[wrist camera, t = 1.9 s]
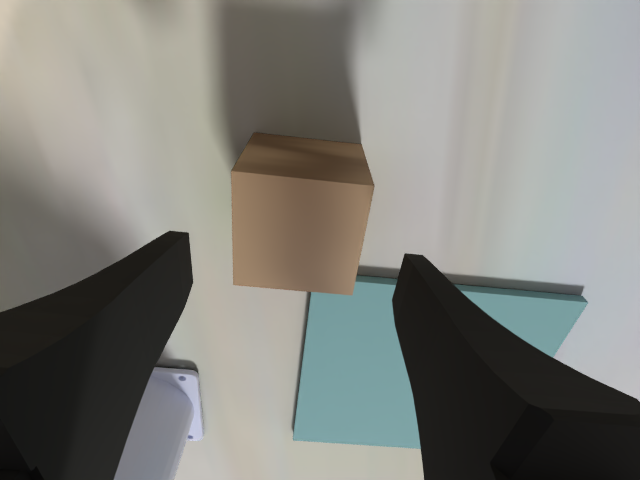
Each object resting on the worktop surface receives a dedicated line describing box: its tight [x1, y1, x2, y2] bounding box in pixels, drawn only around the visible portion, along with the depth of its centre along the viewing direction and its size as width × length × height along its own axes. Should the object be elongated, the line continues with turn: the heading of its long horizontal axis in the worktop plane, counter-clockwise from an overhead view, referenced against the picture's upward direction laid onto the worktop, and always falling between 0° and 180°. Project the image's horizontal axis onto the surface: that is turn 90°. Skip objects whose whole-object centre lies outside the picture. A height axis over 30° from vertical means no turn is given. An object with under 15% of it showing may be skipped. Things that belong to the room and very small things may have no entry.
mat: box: [293, 275, 588, 449], centre depth 25 cm, size 16×16×1 cm
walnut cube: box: [231, 133, 374, 295], centre depth 16 cm, size 5×5×5 cm
